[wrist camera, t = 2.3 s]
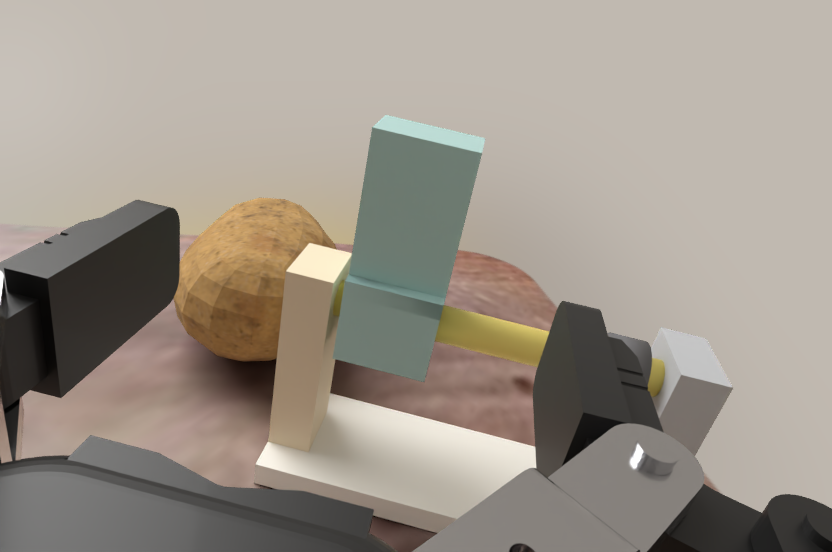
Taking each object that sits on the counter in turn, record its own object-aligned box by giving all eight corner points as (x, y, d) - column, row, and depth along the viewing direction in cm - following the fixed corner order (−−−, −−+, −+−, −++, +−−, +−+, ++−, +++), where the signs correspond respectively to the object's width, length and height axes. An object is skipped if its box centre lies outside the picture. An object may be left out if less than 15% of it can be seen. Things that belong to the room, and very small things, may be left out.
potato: (333, 285, 44) (348, 187, 41) (334, 410, 32) (355, 286, 29) (200, 271, 42) (203, 166, 39) (147, 398, 30) (144, 264, 27)
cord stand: (253, 482, 27) (272, 287, 22) (297, 402, 32) (319, 230, 27) (638, 587, 26) (744, 407, 21) (617, 486, 31) (698, 324, 26)
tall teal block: (332, 358, 25) (368, 130, 20) (353, 316, 28) (388, 112, 23) (424, 382, 24) (481, 157, 20) (434, 337, 28) (486, 135, 23)
